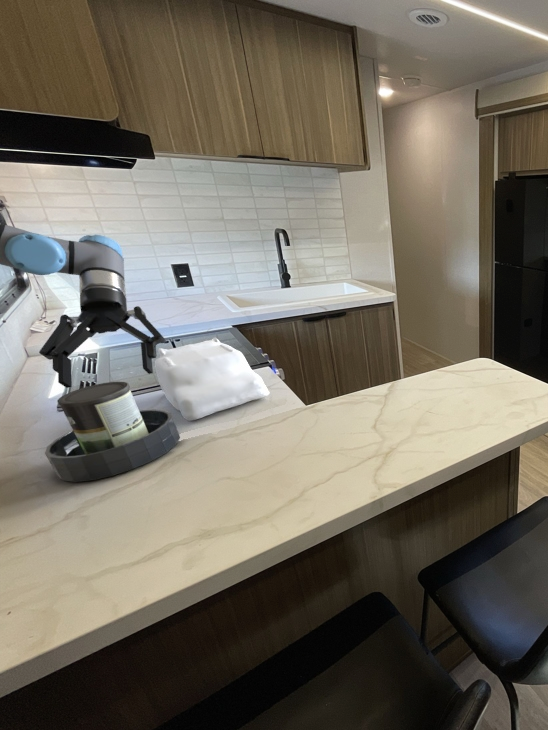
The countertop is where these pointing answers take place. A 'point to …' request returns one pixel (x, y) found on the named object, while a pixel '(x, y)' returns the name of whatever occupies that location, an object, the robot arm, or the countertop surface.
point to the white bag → (207, 378)
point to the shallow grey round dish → (113, 451)
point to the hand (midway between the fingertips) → (107, 377)
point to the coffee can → (103, 416)
